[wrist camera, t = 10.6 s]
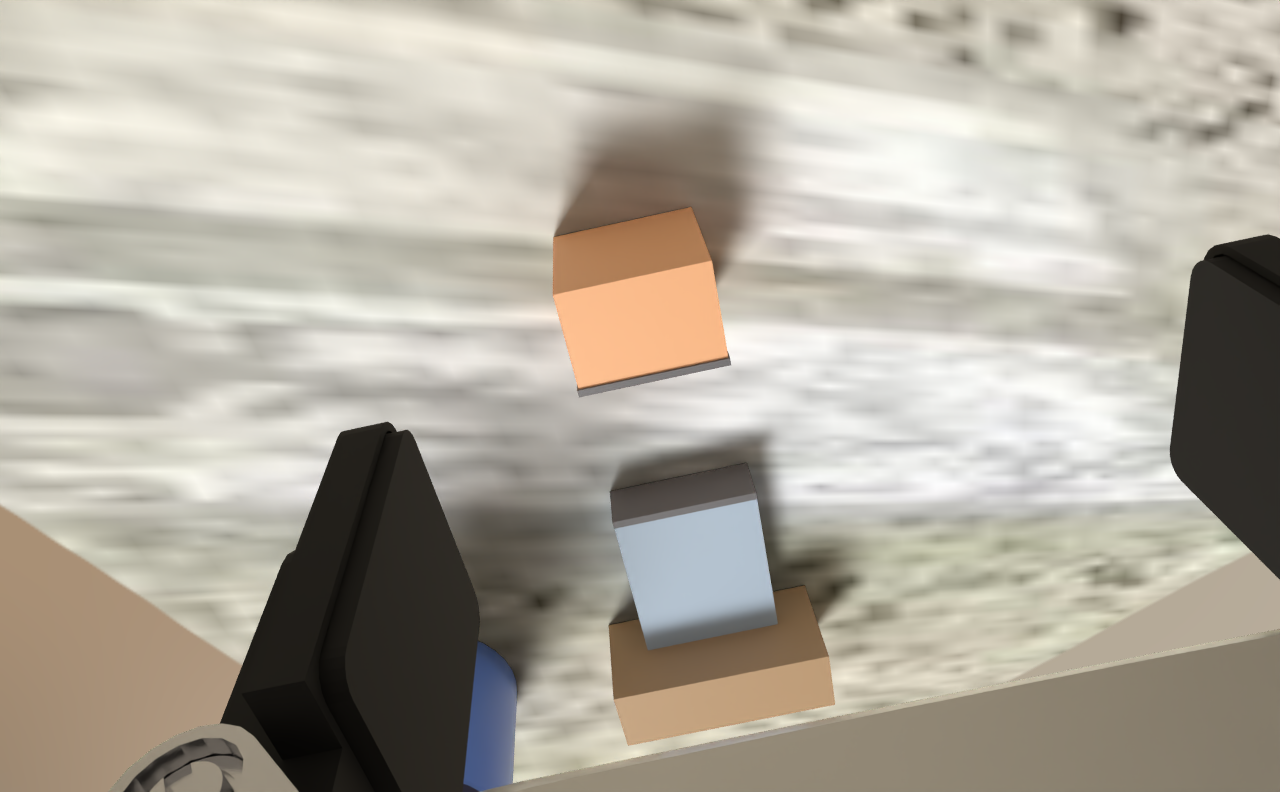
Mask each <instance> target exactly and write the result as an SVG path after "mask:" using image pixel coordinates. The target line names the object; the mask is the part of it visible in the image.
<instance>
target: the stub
mask: <svg viewBox="0 0 1280 792" xmlns="http://www.w3.org/2000/svg"><path fill="white" fill-rule="evenodd" d="M553 297H554V301H555V305H556V308H557V312H558V316H559V319H560V323H561V327H562V330H563V334H564V338H565V341H566V345H567V349H568V352H569V356H570V360H571V363H572V367H573V371H574V374H575V378H576V382H577V391H578V395H579V397H583V396H588V395H592V394H597V393H602V392H606V391H611V390H616V389H621V388H625V387H630V386H635V385H639V384H644V383H649V382H654V381H658V380H663V379H668V378H672V377H677V376H682V375H687V374H691V373H696V372H701V371H705V370H710V369H715V368H719V367H724V366H729V365H731V361H730V357H729V354H728V351H727V347H726V341H725V335H724V329H723V323H722V317H721V311H720V306H719V300H718V294H717V288H716V282H715V276H714V270H713V264H712V260H711V257H710V254H709V252H708V249H707V247H706V244H705V241H704V239H703V236H702V233H701V231H700V228H699V226H698V223H697V220H696V218H695V215H694V213H693V210H692V207H689V208H684V209H680V210H675V211H671V212H666V213H661V214H657V215H652V216H648V217H643V218H639V219H634V220H629V221H625V222H620V223H616V224H611V225H607V226H602V227H597V228H593V229H588V230H584V231H579V232H575V233H570V234H565V235H561V236H556V237H553Z"/></svg>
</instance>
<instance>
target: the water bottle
mask: <svg viewBox="0 0 1280 792" xmlns="http://www.w3.org/2000/svg"><path fill="white" fill-rule="evenodd" d="M516 704H517V685H516V679H515V676H514V674H513V671H512V669H511V668H510V666H509V665H508V663H507V662H506V660H505V659H504V658H502V657H501V656H500V655H499V654H498V653H497V652H496V651H495V650H493V649H491V648H490V647H488V646H487V645H485V644H483V643H481V642H479V641H478V644H477V654H476V664H475V674H474V683H473V693H472V703H471V713H470V723H469V733H468V743H467V753H466V763H465V773H464V782H463V792H480V791H484V790H488V789H492V788H496V787H501V786H505V785H509V784H513V766H514V745H515V724H516Z"/></svg>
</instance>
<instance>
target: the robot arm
mask: <svg viewBox="0 0 1280 792" xmlns="http://www.w3.org/2000/svg"><path fill="white" fill-rule="evenodd" d="M1170 458H1171V463H1172V466H1173V468H1174V471H1175V472H1176V474H1177V476H1178V477H1179V479H1180V480H1181V481H1182V482H1183V483H1184V484H1185V485H1186V486H1187V487H1188V488H1189V489H1190V490H1191V491H1192V492H1193V493H1194V494H1195V495H1196V496H1197V497H1198V498H1199V499H1200V500H1201V501H1202V502H1203V503H1204V504H1205V505H1206V506H1207V507H1208V508H1209V509H1210V510H1211V511H1212V512H1213V513H1214V514H1215V515H1216V516H1217V517H1218V518H1219V519H1220V520H1221V521H1222V522H1223V523H1224V524H1225V525H1226V526H1227V527H1228V528H1229V529H1230V530H1231V531H1232V532H1233V533H1234V534H1235V535H1236V536H1237V537H1238V538H1239V539H1240V540H1241V541H1242V542H1243V543H1244V544H1245V545H1246V546H1247V547H1248V548H1249V549H1250V550H1251V551H1252V552H1253V553H1254V554H1255V555H1256V556H1257V557H1258V558H1259V559H1260V560H1261V561H1262V562H1263V563H1264V564H1265V565H1266V566H1267V567H1268V568H1269V569H1270V570H1271V571H1272V572H1273V573H1274V574H1275V575H1276V576H1277V577H1278V578H1279V579H1280V239H1279V238H1278V237H1275V236H1272V235H1262V236H1257V237H1253V238H1248V239H1243V240H1238V241H1234V242H1229V243H1224V244H1220V245H1215V246H1214V247H1212V248H1211V249H1210V250H1209V251H1208V252H1207V254H1206V256H1205V258H1204V260H1203V261H1200V262H1198V263H1197V264H1196V265H1195V266H1194V268H1193V270H1192V274H1191V279H1190V288H1189V296H1188V304H1187V312H1186V321H1185V329H1184V337H1183V345H1182V353H1181V362H1180V370H1179V378H1178V386H1177V394H1176V403H1175V411H1174V419H1173V427H1172V435H1171V444H1170ZM479 623H480V617H479V607H478V602H477V597H476V594H475V591H474V589H473V586H472V584H471V581H470V579H469V576H468V573H467V571H466V568H465V566H464V563H463V561H462V558H461V556H460V553H459V551H458V548H457V546H456V543H455V540H454V538H453V535H452V533H451V530H450V528H449V525H448V523H447V520H446V518H445V515H444V512H443V510H442V507H441V505H440V502H439V500H438V497H437V495H436V492H435V490H434V487H433V485H432V482H431V479H430V477H429V474H428V472H427V469H426V467H425V464H424V462H423V459H422V457H421V454H420V451H419V449H418V446H417V444H416V441H415V439H414V437H413V435H412V434H411V432H410V431H408V430H404V431H399V432H397V431H396V429H395V428H394V426H393V425H392V424H391V423H389V422H384V423H380V424H375V425H370V426H365V427H361V428H356V429H351V430H347V431H343V432H341V433H340V434H339V436H338V438H337V441H336V443H335V446H334V449H333V451H332V454H331V457H330V459H329V462H328V465H327V467H326V470H325V473H324V475H323V478H322V481H321V483H320V486H319V489H318V491H317V494H316V497H315V499H314V502H313V504H312V507H311V510H310V512H309V515H308V518H307V520H306V523H305V526H304V528H303V531H302V534H301V536H300V539H299V542H298V544H297V547H296V550H294V551H293V552H291V553H289V554H288V555H287V556H286V558H285V560H284V561H283V563H282V565H281V567H280V570H279V573H278V575H277V578H276V580H275V583H274V585H273V588H272V591H271V593H270V596H269V598H268V601H267V604H266V606H265V609H264V611H263V614H262V616H261V619H260V622H259V624H258V627H257V629H256V632H255V634H254V637H253V640H252V642H251V645H250V647H249V650H248V652H247V655H246V658H245V660H244V663H243V665H242V668H241V670H240V673H239V676H238V678H237V681H236V684H235V686H234V688H233V691H232V694H231V697H230V699H229V701H228V704H227V707H226V709H225V712H224V714H223V717H222V719H221V722H220V724H215V725H208V726H200V727H197V728H194V729H192V730H189V731H186V732H184V733H181V734H178V735H176V736H174V737H172V738H170V739H169V740H167V741H165V742H163V743H162V744H160V745H159V746H157V747H155V748H153V749H152V750H150V751H149V752H148V753H146V754H145V755H144V756H143V757H142V758H140V759H139V760H138V761H137V762H136V763H134V764H133V765H132V766H131V767H129V768H128V769H127V770H126V771H125V773H124V774H123V775H122V776H121V777H120V779H119V780H118V781H117V782H116V783H115V784H114V785H113V787H112V788H111V789H110V790H109V791H108V792H463V782H464V773H465V763H466V753H467V743H468V733H469V723H470V713H471V703H472V693H473V683H474V674H475V664H476V654H477V644H478V634H479ZM480 792H1280V629H1277V630H1273V631H1267V632H1262V633H1257V634H1252V635H1247V636H1241V637H1236V638H1231V639H1226V640H1221V641H1216V642H1210V643H1205V644H1200V645H1195V646H1189V647H1184V648H1179V649H1174V650H1169V651H1164V652H1159V653H1154V654H1148V655H1143V656H1139V657H1133V658H1128V659H1123V660H1118V661H1113V662H1108V663H1103V664H1098V665H1093V666H1088V667H1083V668H1078V669H1073V670H1067V671H1062V672H1057V673H1052V674H1047V675H1042V676H1038V677H1032V678H1027V679H1022V680H1017V681H1012V682H1007V683H1002V684H997V685H992V686H987V687H982V688H977V689H972V690H967V691H962V692H957V693H952V694H947V695H942V696H937V697H932V698H927V699H922V700H917V701H911V702H906V703H901V704H896V705H891V706H886V707H881V708H876V709H871V710H866V711H862V712H857V713H852V714H847V715H842V716H837V717H832V718H827V719H822V720H817V721H813V722H808V723H803V724H798V725H793V726H788V727H783V728H778V729H773V730H769V731H764V732H759V733H754V734H749V735H744V736H739V737H734V738H729V739H724V740H720V741H715V742H710V743H705V744H700V745H695V746H690V747H685V748H680V749H676V750H671V751H666V752H661V753H656V754H651V755H646V756H641V757H636V758H631V759H627V760H622V761H617V762H612V763H607V764H603V765H598V766H593V767H588V768H583V769H579V770H574V771H569V772H564V773H560V774H555V775H550V776H545V777H540V778H536V779H531V780H526V781H521V782H517V783H513V784H509V785H505V786H501V787H496V788H492V789H488V790H484V791H480Z"/></svg>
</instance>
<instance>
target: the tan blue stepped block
mask: <svg viewBox="0 0 1280 792" xmlns="http://www.w3.org/2000/svg"><path fill="white" fill-rule="evenodd" d="M610 498H611V510H612V522H613V526H614V529H615V532H616V536H617V540H618V543H619V547H620V551H621V554H622V558H623V562H624V565H625V569H626V572H627V576H628V580H629V583H630V587H631V591H632V594H633V598H634V602H635V605H636V609H637V613H638V616H639V619H637V620H632V621H628V622H623V623H618V624H613V625H609V636H610V651H611V666H612V681H613V696H614V702H615V705H616V708H617V712H618V715H619V718H620V721H621V724H622V728H623V731H624V734H625V737H626V740H627V744H628V746H629V745H634V744H639V743H644V742H649V741H654V740H659V739H664V738H669V737H674V736H679V735H684V734H689V733H694V732H699V731H704V730H709V729H714V728H719V727H724V726H729V725H735V724H740V723H745V722H750V721H755V720H760V719H765V718H770V717H775V716H780V715H785V714H790V713H795V712H800V711H805V710H810V709H815V708H820V707H825V706H830V705H835V700H834V692H833V684H832V677H831V669H830V661H829V655H828V652H827V650H826V647H825V644H824V641H823V638H822V635H821V632H820V629H819V626H818V623H817V620H816V617H815V614H814V611H813V608H812V605H811V602H810V599H809V596H808V593H807V591H806V588H805V585H804V586H799V587H794V588H790V589H785V590H780V591H775V592H772V586H771V580H770V574H769V568H768V562H767V556H766V550H765V544H764V538H763V532H762V526H761V520H760V514H759V508H758V502H757V495H756V491H755V487H754V484H753V481H752V478H751V475H750V471H749V468H748V465H747V463H744V464H739V465H734V466H729V467H725V468H720V469H715V470H710V471H705V472H701V473H696V474H691V475H686V476H681V477H677V478H672V479H667V480H662V481H658V482H653V483H648V484H643V485H638V486H634V487H629V488H624V489H619V490H614V491H610Z"/></svg>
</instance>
